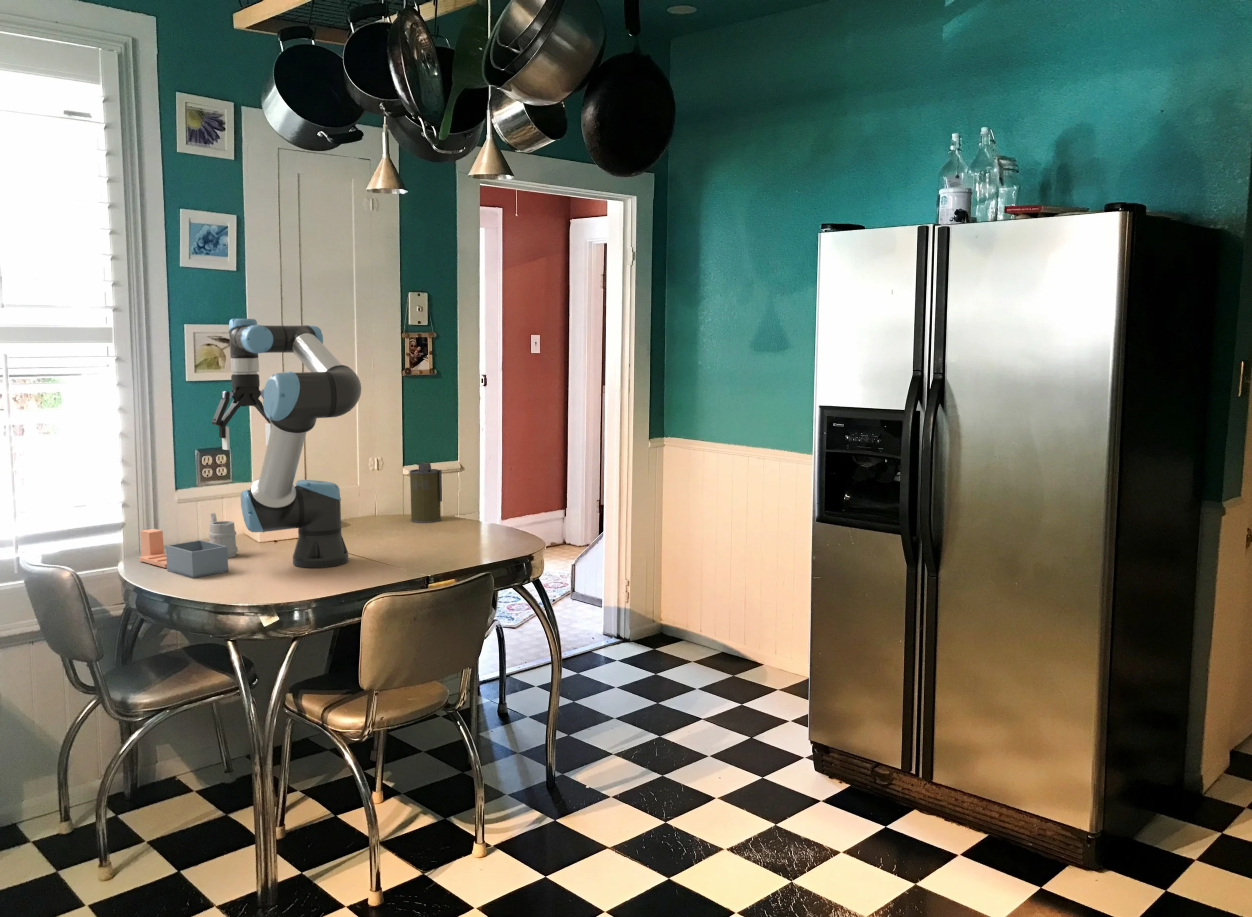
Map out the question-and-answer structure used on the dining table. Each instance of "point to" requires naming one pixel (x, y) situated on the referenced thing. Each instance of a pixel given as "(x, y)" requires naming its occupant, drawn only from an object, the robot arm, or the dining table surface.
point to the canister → (425, 494)
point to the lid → (153, 547)
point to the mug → (223, 534)
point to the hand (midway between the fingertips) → (248, 447)
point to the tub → (197, 558)
